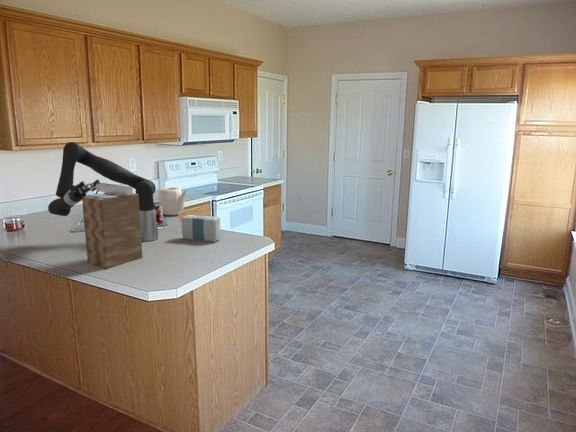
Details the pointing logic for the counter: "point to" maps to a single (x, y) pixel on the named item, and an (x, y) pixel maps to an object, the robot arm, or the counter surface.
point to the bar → (114, 189)
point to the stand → (112, 229)
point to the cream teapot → (172, 200)
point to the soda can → (159, 213)
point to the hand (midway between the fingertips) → (91, 181)
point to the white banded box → (201, 227)
